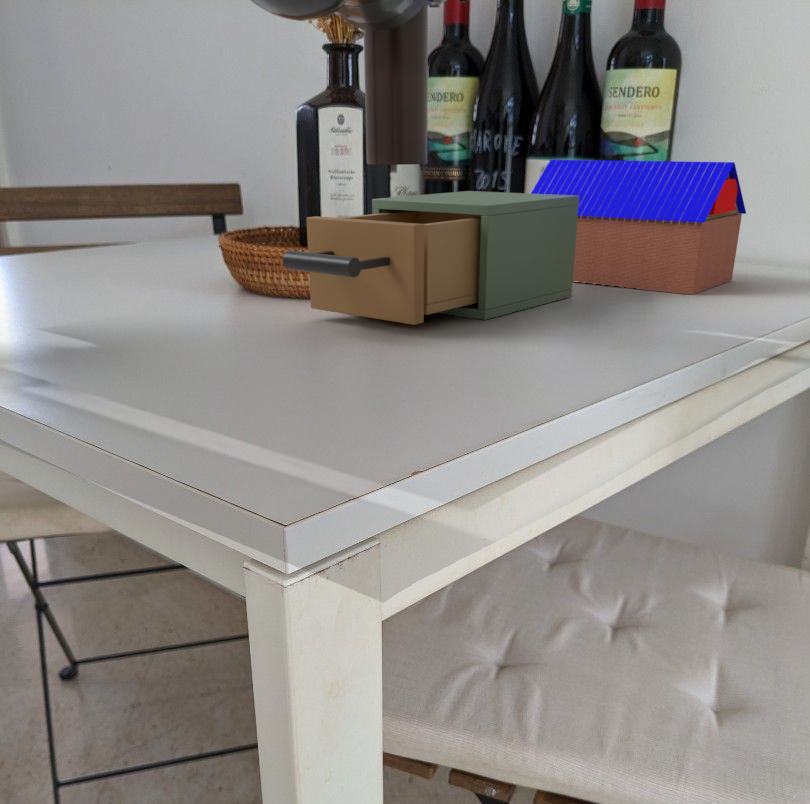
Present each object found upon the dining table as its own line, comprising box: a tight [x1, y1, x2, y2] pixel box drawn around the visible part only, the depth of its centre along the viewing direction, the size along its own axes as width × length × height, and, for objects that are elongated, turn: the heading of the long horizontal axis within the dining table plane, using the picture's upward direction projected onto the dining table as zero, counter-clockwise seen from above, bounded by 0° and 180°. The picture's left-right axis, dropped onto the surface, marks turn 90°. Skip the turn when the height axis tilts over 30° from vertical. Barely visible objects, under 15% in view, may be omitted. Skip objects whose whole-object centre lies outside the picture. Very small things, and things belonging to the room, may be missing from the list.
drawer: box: [282, 211, 482, 326], centre depth 71 cm, size 18×11×7 cm, turn 140°
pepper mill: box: [363, 5, 429, 166], centre depth 62 cm, size 5×5×14 cm
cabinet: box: [371, 190, 579, 321], centre depth 79 cm, size 15×13×9 cm
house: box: [530, 159, 747, 295], centre depth 90 cm, size 12×20×12 cm, turn 52°
